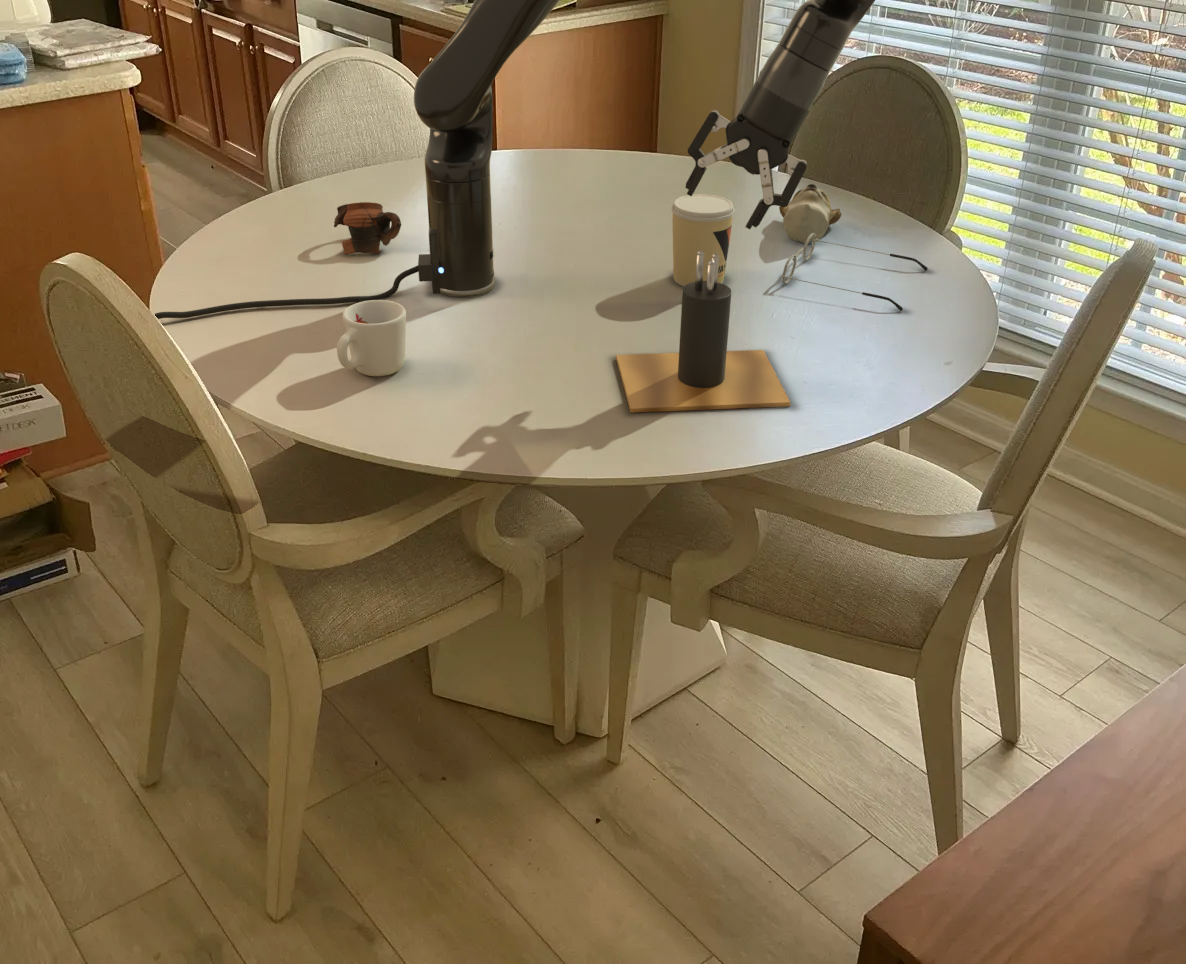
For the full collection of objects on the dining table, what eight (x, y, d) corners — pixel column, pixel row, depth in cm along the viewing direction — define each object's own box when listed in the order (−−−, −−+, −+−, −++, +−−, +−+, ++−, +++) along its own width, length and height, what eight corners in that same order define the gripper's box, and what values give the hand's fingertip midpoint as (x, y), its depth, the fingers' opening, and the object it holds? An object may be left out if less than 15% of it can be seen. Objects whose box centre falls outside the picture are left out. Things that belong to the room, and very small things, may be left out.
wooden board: (630, 412, 142) (630, 408, 141) (615, 358, 154) (616, 354, 154) (790, 406, 143) (790, 402, 143) (762, 353, 156) (763, 349, 156)
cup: (367, 396, 144) (361, 338, 140) (320, 380, 148) (313, 323, 144) (422, 364, 152) (418, 308, 148) (376, 349, 156) (371, 294, 151)
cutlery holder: (681, 388, 146) (689, 261, 137) (674, 367, 151) (680, 243, 142) (728, 387, 146) (739, 260, 137) (719, 366, 151) (729, 242, 142)
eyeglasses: (811, 250, 189) (814, 227, 187) (926, 273, 182) (931, 249, 180) (777, 289, 175) (780, 264, 173) (901, 315, 169) (906, 290, 166)
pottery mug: (325, 257, 185) (320, 206, 185) (356, 264, 194) (351, 215, 194) (391, 246, 181) (386, 193, 181) (420, 253, 190) (415, 203, 190)
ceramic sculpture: (775, 191, 186) (785, 169, 199) (769, 243, 191) (779, 219, 203) (841, 198, 184) (847, 176, 197) (834, 251, 188) (840, 226, 201)
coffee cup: (725, 293, 173) (731, 216, 167) (663, 288, 175) (667, 211, 169) (732, 270, 181) (738, 195, 175) (672, 265, 183) (676, 191, 176)
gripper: (730, 65, 137) (666, 188, 144) (835, 124, 137) (765, 244, 144) (736, 61, 143) (673, 179, 150) (836, 118, 144) (769, 232, 151)
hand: (718, 211), depth 147 cm, fingers open, 8 cm apart
